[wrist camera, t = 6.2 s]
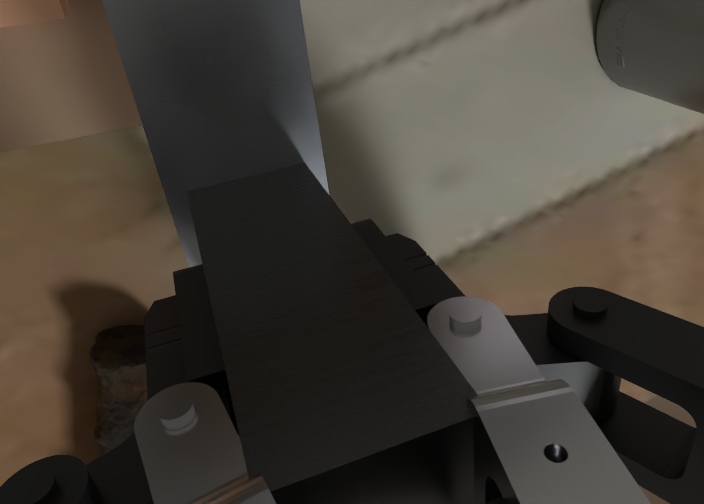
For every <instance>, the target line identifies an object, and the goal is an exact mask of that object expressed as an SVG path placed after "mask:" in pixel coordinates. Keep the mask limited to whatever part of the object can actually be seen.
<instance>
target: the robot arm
mask: <svg viewBox="0 0 704 504" xmlns="http://www.w3.org/2000/svg"><path fill="white" fill-rule="evenodd" d="M596 43H597V50H598V57H599V60H600V62H601V65H602V68H603V70H604V71H605V73H606V74H607V75H608V77H609V78H610V79H611V80H612V81H613V82H615V83H616V84H617V85H619V86H621V87H624V88H627V89H630V90H633V91H636V92H639V93H642V94H645V95H648V96H651V97H654V98H657V99H660V100H664V101H667V102H669V103H672V104H675V105H678V106H681V107H684V108H687V109H690V110H694V111H697V112H700V113H703V114H704V0H604V1H603V3H602V6H601V9H600V14H599V19H598V24H597V39H596ZM351 225H352V226H353V228H354V229H355V231H356V232H357V233H358V235H359V236H360V237H361V239H362V240H363V241H364V243H365V244H366V245H367V247H368V248H369V249H370V251H371V252H372V253H373V255H374V256H375V257H376V259H377V260H378V261H379V263H380V264H381V265H382V267H383V268H384V269H385V271H386V272H387V273H388V275H389V276H390V278H391V279H392V280H393V282H394V283H395V284H396V286H397V287H398V288H399V290H400V291H401V292H402V294H403V295H404V296H405V298H406V299H407V300H408V302H409V303H410V304H411V306H412V307H413V308H414V310H415V311H416V312H417V314H418V315H419V316H420V318H421V319H422V320H423V322H424V323H425V324H426V326H427V327H428V329H429V330H430V331H431V333H432V334H433V335H434V337H435V338H436V339H437V341H438V342H439V343H440V345H441V346H442V347H443V349H444V350H445V351H446V353H447V354H448V355H449V357H450V358H451V359H452V361H453V362H454V363H455V365H456V366H457V367H458V369H459V370H460V371H461V373H462V374H463V376H464V377H465V378H466V380H467V381H468V382H469V384H470V385H471V386H472V388H473V389H474V390H475V392H476V393H477V394H478V396H477V397H472V398H467V399H466V401H467V403H468V406H469V408H470V410H471V412H472V415H473V417H474V504H651V503H650V502H649V500H648V499H647V497H646V496H645V494H644V493H643V491H642V490H641V489H640V487H639V485H640V486H642V487H643V488H645V489H646V490H648V491H650V492H652V493H653V494H655V495H657V496H658V497H660V498H662V499H663V500H665V501H667V502H669V503H670V504H704V327H702V326H699V325H696V324H694V323H691V322H688V321H686V320H683V319H681V318H678V317H675V316H673V315H670V314H667V313H665V312H662V311H659V310H657V309H654V308H651V307H649V306H646V305H643V304H641V303H638V302H635V301H633V300H630V299H627V298H625V297H622V296H619V295H617V294H614V293H612V292H609V291H606V290H603V289H598V288H593V287H573V288H568V289H565V290H562V291H560V292H558V293H557V294H555V295H554V296H553V297H552V298H551V300H550V302H549V307H548V313H543V314H530V315H516V316H509V315H504V314H503V313H502V311H501V310H500V309H499V308H498V307H497V306H496V305H494V304H493V303H491V302H489V301H487V300H484V299H481V298H476V297H467V296H465V295H464V294H463V293H462V292H461V291H460V290H459V289H458V287H457V286H456V285H455V284H454V283H453V282H452V281H451V280H450V279H449V278H448V276H447V275H446V274H445V273H444V272H443V271H442V270H441V269H440V268H439V267H438V266H437V265H435V262H434V261H433V260H432V259H431V258H430V257H429V256H427V255H426V252H425V251H424V250H423V249H422V248H421V247H420V246H419V245H418V244H417V242H416V241H414V240H412V239H409V238H407V237H405V236H403V235H400V234H398V233H396V234H393V235H389V236H385V235H384V234H383V233H382V232H381V230H380V229H379V228H378V227H377V226H376V224H375V223H374V222H373V221H372V220H371V219H367V220H363V221H359V222H356V223H352V224H351ZM173 277H174V285H175V292H176V295H175V296H171V297H168V298H164V299H161V300H157V301H154V302H153V304H152V306H151V308H150V309H149V311H148V313H147V315H146V316H145V318H144V324H145V337H146V338H145V349H146V376H147V402H146V403H145V404H144V405H143V407H142V408H141V409H140V411H139V412H138V414H137V416H136V419H135V422H134V433H133V434H132V435H131V436H130V437H128V438H127V439H126V440H125V441H124V442H123V443H121V444H120V445H119V446H117V447H116V448H114V449H113V450H111V451H109V452H108V453H106V454H104V455H103V456H101V457H99V458H97V459H96V460H94V461H92V462H91V463H89V464H87V465H86V466H85V464H84V463H83V462H82V461H81V460H80V459H78V458H76V457H73V456H70V455H55V456H50V457H46V458H43V459H40V460H38V461H35V462H33V463H31V464H29V465H27V466H26V467H24V468H22V469H21V470H19V471H18V472H16V473H15V474H14V475H13V476H11V477H10V478H9V479H8V480H7V481H6V482H5V483H4V484H3V485H2V486H1V487H0V504H276V502H275V500H274V498H273V496H272V494H271V492H270V490H269V488H268V486H267V484H266V482H265V481H264V479H263V477H262V475H261V474H260V473H259V474H257V475H255V476H253V477H251V478H249V477H248V472H247V468H246V463H245V459H244V454H243V449H242V445H241V440H240V435H239V431H238V426H237V422H236V417H235V412H234V408H233V403H232V398H231V394H230V389H229V385H228V380H227V375H226V371H225V366H224V361H223V357H222V352H221V348H220V343H219V338H218V334H217V329H216V325H215V320H214V315H213V311H212V306H211V301H210V297H209V292H208V288H207V283H206V278H205V274H204V269H203V264H201V265H197V266H193V267H189V268H186V269H182V270H178V271H175V272H173ZM621 378H623V379H625V380H627V381H629V382H631V383H633V384H636V385H638V386H640V387H642V388H644V389H646V390H648V391H650V392H652V393H655V394H657V395H659V396H661V397H663V398H665V399H667V400H670V401H671V402H674V403H676V404H678V405H679V406H681V407H682V408H684V409H685V410H686V411H688V413H689V414H690V415H691V416H692V417H693V419H694V421H695V423H696V426H697V428H694V427H692V426H689V425H687V424H685V423H683V422H681V421H679V420H677V419H675V418H673V417H671V416H669V415H667V414H665V413H663V412H661V411H659V410H657V409H655V408H652V407H651V406H649V405H647V404H644V403H642V402H640V401H638V400H636V399H634V398H632V397H630V396H628V395H626V394H624V393H622V392H620V391H619V388H620V383H621Z"/></svg>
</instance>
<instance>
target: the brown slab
mask: <svg viewBox="0 0 704 504" xmlns="http://www.w3.org/2000/svg"><path fill="white" fill-rule="evenodd" d="M68 3H69V6H70V9H71V11H70V12H69V14H68V15H67V17H66V18H64V19H57V20H50V21H43V22H36V23H29V24H22V25H15V26H8V27H1V28H0V152H4V151H9V150H14V149H19V148H25V147H30V146H35V145H41V144H46V143H51V142H56V141H62V140H67V139H72V138H78V137H83V136H88V135H93V134H99V133H104V132H109V131H115V130H120V129H125V128H131V127H136V126H141V125H143V124H142V121H141V118H140V115H139V112H138V109H137V106H136V103H135V100H134V97H133V94H132V91H131V88H130V85H129V81H128V78H127V75H126V72H125V69H124V66H123V63H122V60H121V57H120V54H119V51H118V48H117V45H116V41H115V38H114V35H113V32H112V29H111V26H110V23H109V20H108V17H107V14H106V11H105V8H104V5H103V2H102V0H68Z"/></svg>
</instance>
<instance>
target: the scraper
mask: <svg viewBox="0 0 704 504" xmlns="http://www.w3.org/2000/svg"><path fill="white" fill-rule="evenodd" d="M102 2H103V5H104V8H105V11H106V14H107V17H108V20H109V23H110V26H111V29H112V32H113V35H114V38H115V41H116V45H117V48H118V51H119V54H120V57H121V60H122V63H123V66H124V69H125V72H126V75H127V78H128V81H129V85H130V88H131V91H132V94H133V97H134V100H135V103H136V106H137V109H138V112H139V115H140V118H141V121H142V124H143V128H144V131H145V134H146V137H147V140H148V143H149V146H150V149H151V152H152V155H153V158H154V161H155V164H156V168H157V171H158V174H159V177H160V180H161V183H162V186H163V189H164V192H165V195H166V198H167V201H168V204H169V207H170V211H171V214H172V217H173V220H174V223H175V226H176V229H177V232H178V235H179V238H180V241H181V244H182V247H183V251H184V254H185V257H186V260H187V263H188V266H189V267H193V266H197V265H201V264H203V269H204V274H205V278H206V283H207V288H208V292H209V297H210V301H211V306H212V311H213V315H214V320H215V325H216V329H217V334H218V338H219V343H220V348H221V352H222V357H223V361H224V366H225V371H226V375H227V380H228V385H229V389H230V394H231V398H232V403H233V408H234V412H235V417H236V422H237V426H238V431H239V435H240V440H241V445H242V449H243V454H244V459H245V463H246V468H247V472H248V477H249V478H251V477H253V476H255V475H257V474H259V473H260V474H261V475H262V477H263V479H264V481H265V482H266V484H267V486H268V488H269V490H270V492H271V494H272V496H273V498H274V500H275V502H276V504H474V417H473V415H472V412H471V410H470V408H469V406H468V403H467V401H466V399H467V398H472V397H477V396H478V394H477V393H476V392H475V390H474V389H473V388H472V386H471V385H470V384H469V382H468V381H467V380H466V378H465V377H464V376H463V374H462V373H461V371H460V370H459V369H458V367H457V366H456V365H455V363H454V362H453V361H452V359H451V358H450V357H449V355H448V354H447V353H446V351H445V350H444V349H443V347H442V346H441V345H440V343H439V342H438V341H437V339H436V338H435V337H434V335H433V334H432V333H431V331H430V330H429V329H428V327H427V326H426V324H425V323H424V322H423V320H422V319H421V318H420V316H419V315H418V314H417V312H416V311H415V310H414V308H413V307H412V306H411V304H410V303H409V302H408V300H407V299H406V298H405V296H404V295H403V294H402V292H401V291H400V290H399V288H398V287H397V286H396V284H395V283H394V282H393V280H392V279H391V278H390V276H389V275H388V273H387V272H386V271H385V269H384V268H383V267H382V265H381V264H380V263H379V261H378V260H377V259H376V257H375V256H374V255H373V253H372V252H371V251H370V249H369V248H368V247H367V245H366V244H365V243H364V241H363V240H362V239H361V237H360V236H359V235H358V233H357V232H356V231H355V229H354V228H353V226H352V225H351V224H350V222H349V221H348V220H347V218H346V217H345V216H344V214H343V213H342V212H341V210H340V209H339V208H338V206H337V205H336V204H335V202H334V201H333V200H332V198H331V197H330V196H329V189H328V183H327V177H326V170H325V164H324V157H323V151H322V144H321V138H320V131H319V125H318V118H317V112H316V105H315V99H314V92H313V86H312V79H311V73H310V66H309V60H308V53H307V47H306V40H305V34H304V28H303V21H302V15H301V8H300V2H299V0H102Z"/></svg>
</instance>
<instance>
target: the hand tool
mask: <svg viewBox="0 0 704 504" xmlns="http://www.w3.org/2000/svg"><path fill="white" fill-rule="evenodd" d="M145 338H146V337H145V327H139V326H121V327H115V328H110V329H106V330H104V331H102V332H100V333H99V334H98V335H97V336H96V339H95V340H96V343H95V344H94V346H93V347H92V348H91V352H90V358H91V362H92V364H93V366H94V368H95V369H96V371H97V375H98V376H99V378H100V389H99V392H98V395H99V399H98V408H97V426H96V428H95V431H94V436H95V440H96V441H97V442H98V443H99V444H100V450H101V456H103V455H104V454H106V453H108V452H109V451H111V450H113V449H114V448H116V447H117V446H119V445H120V444H121V443H123V442H124V441H125V440H126V439H127V438H128V437H130V436H131V435H132V434H133V433H134V422H135V419H136V416H137V414H138V412H139V411H140V409H141V408H142V407H143V405H144V404H145V403H146V402H147V376H146V349H145Z"/></svg>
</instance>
